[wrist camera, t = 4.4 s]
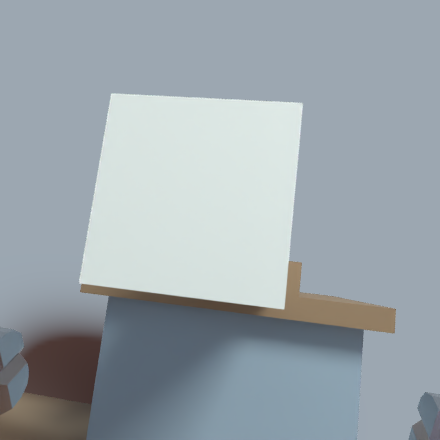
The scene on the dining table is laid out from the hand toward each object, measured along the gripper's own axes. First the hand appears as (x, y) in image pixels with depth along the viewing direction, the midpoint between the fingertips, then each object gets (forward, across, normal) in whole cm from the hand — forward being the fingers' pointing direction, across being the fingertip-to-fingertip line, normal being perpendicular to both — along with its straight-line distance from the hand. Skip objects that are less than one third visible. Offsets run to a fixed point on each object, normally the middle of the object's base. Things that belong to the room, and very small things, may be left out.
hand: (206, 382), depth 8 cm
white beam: (+10, -1, -4) cm, 11 cm away
